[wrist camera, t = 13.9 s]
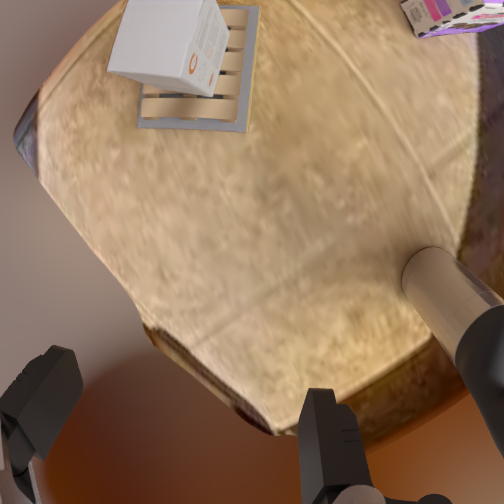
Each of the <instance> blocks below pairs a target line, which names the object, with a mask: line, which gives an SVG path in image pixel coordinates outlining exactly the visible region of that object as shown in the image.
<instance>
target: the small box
mask: <svg viewBox="0 0 504 504" xmlns="http://www.w3.org/2000/svg"><path fill="white" fill-rule="evenodd" d="M229 35H230V33H229V30H228V28H227V26H226V23H225V21H224V19H223V16H222V14H221V11H220V9H219V6H218V4H217V1H216V0H128V2H127V5H126V7H125V10H124V13H123V16H122V19H121V22H120V25H119V28H118V31H117V34H116V38H115V41H114V44H113V48H112V51H111V55H110V58H109V62H108V66H107V69H106V71H108V72H110V73H113V74H117V75H120V76H123V77H126V78H129V79H132V80H135V81H138V82H141V83H144V84H147V85H150V86H153V87H156V88H158V89H162V90H170V91H177V92H183V93H190V94H196V95H201V96H207V97H213V94H214V90H215V86H216V83H217V79H218V75H219V72H220V68H221V64H222V61H223V57H224V53H225V50H226V46H227V43H228V39H229Z"/></svg>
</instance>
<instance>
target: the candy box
mask: <svg viewBox="0 0 504 504" xmlns="http://www.w3.org/2000/svg"><path fill="white" fill-rule="evenodd" d="M400 5H401V7H402V9H403V11H404V13H405V15H406V17H407V19H408V21H409V23H410V25H411V27H412V30H413V32H414V34H415V36H416V37H417V38H425V37H431V36H440V35H448V34H457V33H470V32H482V31H485V30H488V29H491V28H494V27H497V26H500V25H502V24H504V0H404V1H403V2H401V3H400Z"/></svg>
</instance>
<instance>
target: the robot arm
mask: <svg viewBox="0 0 504 504" xmlns="http://www.w3.org/2000/svg"><path fill="white" fill-rule="evenodd" d="M402 289H403V292H404V294H405V296H406V297H407V298H408V300H409V301H410V302H411V304H412V305H413V306H414V308H415V309H416V311H417V312H418V313H419V315H420V316H421V317H422V319H423V320H424V322H425V323H426V324H427V326H428V327H429V329H430V330H431V331H432V333H433V334H434V336H435V337H436V339H437V340H438V341H439V343H440V344H441V346H442V347H443V349H444V350H445V352H446V353H447V355H448V356H449V358H450V359H451V361H452V362H453V364H454V365H455V367H456V368H457V370H458V371H459V373H460V374H461V376H462V378H463V381H464V383H465V385H466V386H467V388H468V390H469V391H470V393H471V395H472V397H473V398H474V400H475V402H476V404H477V406H478V408H479V410H480V412H481V414H482V416H483V418H484V420H485V423H486V425H487V427H488V429H489V431H490V434H491V436H492V438H493V440H494V442H495V444H496V446H497V448H498V449H499V451H500V453H501V455H502V456H503V458H504V300H503V299H502V298H501V297H500V296H499V295H498V294H496V293H495V292H494V291H493V290H492V289H491V288H490V287H488V286H487V285H486V284H485V283H484V282H483V281H481V280H480V279H479V278H478V277H477V276H476V275H474V274H473V273H472V272H471V271H469V270H468V269H467V268H466V267H465V266H463V265H462V264H461V263H460V262H458V261H457V260H456V259H455V258H453V257H452V256H451V255H450V254H448V253H447V252H446V251H444V250H443V249H441V248H437V247H429V248H426V249H423V250H421V251H419V252H418V253H416V254H415V255H414V256H413V257H412V258H411V259H410V260H409V262H408V263H407V265H406V267H405V269H404V272H403V275H402ZM82 390H83V380H82V377H81V373H80V370H79V367H78V363H77V360H76V356H75V353H74V352H73V350H70V349H67V348H64V347H60V346H57V345H52V346H51V347H50V348H49V349H48V351H47V352H46V353H45V354H44V355H40V356H38V357H36V358H35V359H33V360H31V361H30V362H29V363H28V364H27V365H26V367H25V368H24V369H23V370H22V373H20V374H19V375H18V376H17V377H16V380H14V381H13V382H12V384H11V385H10V386H9V387H8V389H7V390H6V391H5V393H4V394H3V395H2V396H1V398H0V504H41V501H40V497H39V493H38V489H37V485H36V481H35V476H34V472H33V467H32V464H31V462H30V460H31V458H32V456H35V457H37V458H39V459H41V460H43V461H44V460H45V458H46V456H47V454H48V452H49V450H50V449H51V447H52V445H53V443H54V442H55V440H56V438H57V436H58V434H59V433H60V431H61V429H62V427H63V425H64V424H65V422H66V420H67V419H68V417H69V415H70V413H71V412H72V410H73V408H74V407H75V405H76V403H77V402H78V400H79V398H80V397H81V394H82ZM361 441H362V439H361V435H360V432H359V426H358V422H357V418H356V416H355V414H354V413H353V412H352V410H351V409H350V408H349V407H348V405H347V404H336V399H335V394H334V391H333V389H323V388H309V389H308V392H307V395H306V398H305V401H304V404H303V408H302V411H301V414H300V417H299V422H298V444H299V457H300V458H299V459H300V475H301V493H302V504H452V503H451V502H450V500H449V499H448V498H446V497H445V496H442V495H439V494H430V495H426V496H424V497H422V498H421V499H420V500H419V501H417V502H413V501H403V500H395V499H390V498H387V497H385V496H383V495H382V494H381V493H380V492H379V491H378V490H377V489H375V487H374V486H373V484H372V482H371V478H370V473H369V469H368V464H367V460H366V456H365V451H364V447H363V443H362V442H361Z"/></svg>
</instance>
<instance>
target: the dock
mask: <svg viewBox="0 0 504 504" xmlns="http://www.w3.org/2000/svg"><path fill="white" fill-rule="evenodd" d="M218 6H219V9H244V10H249V18H248V26H247V28H246V31H247V34H246V43H245V49H244V52H243V53H244V60H243V69H242V72H241V77H242V79H241V88H240V96H239V98H238V100H239V107H238V117H237V120H236V123H228V122H221V119H210V118H197V121H189V120H181V117H160V119H159V120H144V117H141V106H142V98H146V94H143V85H144V83H141V89H140V100H139V111H138V124H137V128H168V129H198V130H216V131H231V132H243V133H248V132H249V122H250V112H251V102H252V93H253V83H254V74H255V64H256V55H257V46H258V37H259V28H260V20H261V8H260V6H244V5H218ZM227 28H228V30H231V27H227ZM225 52H228V49H227V48H226V50H225ZM225 74H226V71H220V72H219V75H225ZM161 98H183V94H162V97H161ZM199 98H202V99H223V95H217V94H213V97H207V96H201V95H199Z"/></svg>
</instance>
